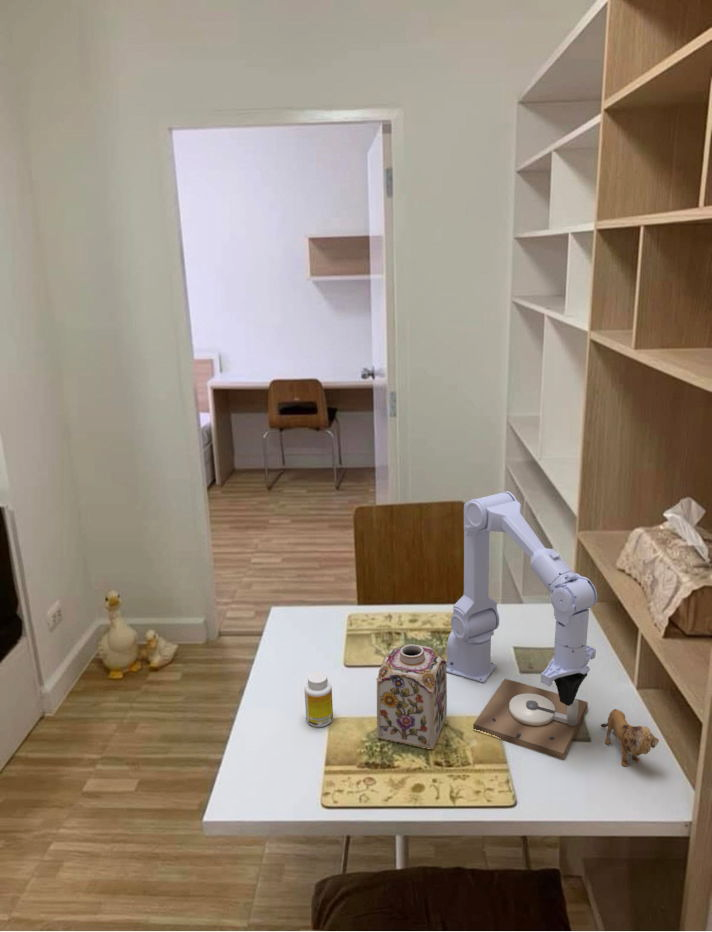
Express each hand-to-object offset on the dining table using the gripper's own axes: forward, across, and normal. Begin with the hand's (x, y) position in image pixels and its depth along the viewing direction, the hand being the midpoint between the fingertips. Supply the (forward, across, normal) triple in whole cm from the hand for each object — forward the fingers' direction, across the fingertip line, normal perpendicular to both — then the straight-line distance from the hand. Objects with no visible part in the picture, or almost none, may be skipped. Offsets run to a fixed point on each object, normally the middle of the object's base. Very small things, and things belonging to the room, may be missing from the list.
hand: (566, 702), depth 139 cm
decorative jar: (+8, -20, +22) cm, 31 cm away
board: (+8, 0, +8) cm, 11 cm away
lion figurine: (+8, +5, -10) cm, 14 cm away
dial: (+6, +1, +6) cm, 9 cm away
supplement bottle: (+9, -33, +36) cm, 50 cm away
